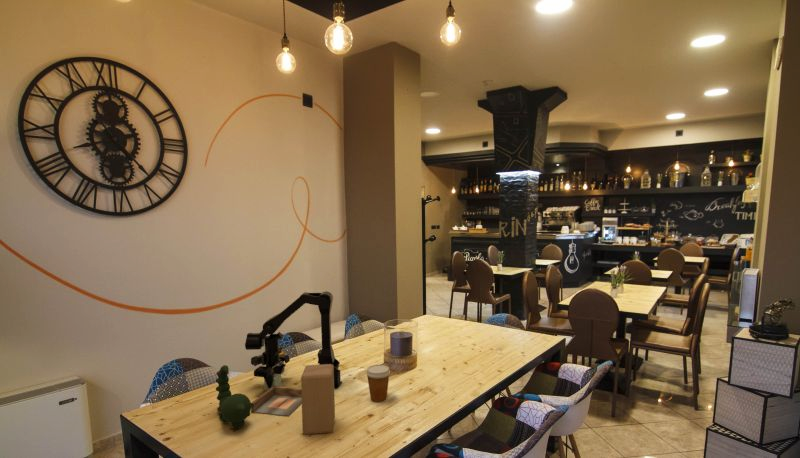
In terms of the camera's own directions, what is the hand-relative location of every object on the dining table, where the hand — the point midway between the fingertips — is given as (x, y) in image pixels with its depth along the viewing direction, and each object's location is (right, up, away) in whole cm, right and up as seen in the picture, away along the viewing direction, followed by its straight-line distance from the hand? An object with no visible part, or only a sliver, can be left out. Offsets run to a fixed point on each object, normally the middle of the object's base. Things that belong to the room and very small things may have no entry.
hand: (273, 385), depth 168 cm
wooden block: (+26, -2, -32) cm, 41 cm away
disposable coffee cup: (+45, -1, -12) cm, 47 cm away
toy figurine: (-6, -2, -27) cm, 28 cm away
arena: (+8, -1, -16) cm, 18 cm away
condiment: (-4, -1, +17) cm, 17 cm away
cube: (0, -1, 0) cm, 1 cm away
